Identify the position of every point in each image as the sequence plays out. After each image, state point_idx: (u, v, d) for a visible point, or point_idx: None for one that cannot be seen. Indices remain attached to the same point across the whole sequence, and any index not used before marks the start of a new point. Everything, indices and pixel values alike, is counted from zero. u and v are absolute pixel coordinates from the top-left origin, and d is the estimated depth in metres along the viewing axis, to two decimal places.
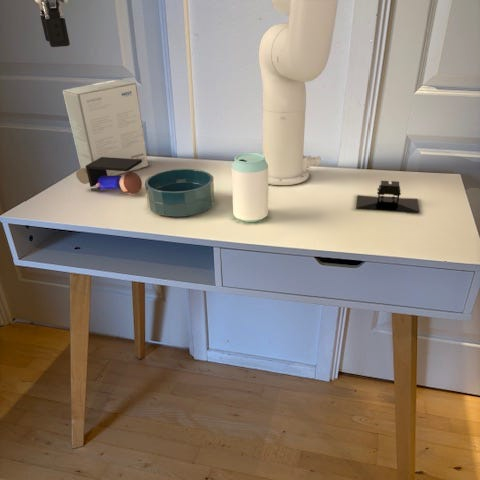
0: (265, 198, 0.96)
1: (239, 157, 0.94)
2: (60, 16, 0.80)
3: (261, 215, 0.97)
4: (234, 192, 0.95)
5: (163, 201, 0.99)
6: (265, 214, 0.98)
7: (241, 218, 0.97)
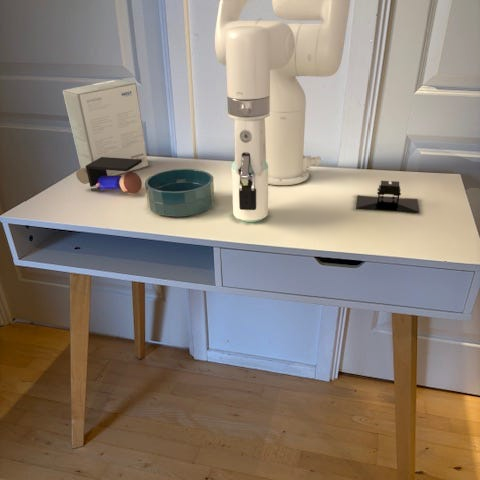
0: (265, 198, 0.96)
1: None
2: (251, 190, 0.92)
3: (261, 215, 0.97)
4: (234, 192, 0.95)
5: (163, 201, 0.99)
6: (265, 214, 0.98)
7: (241, 218, 0.97)
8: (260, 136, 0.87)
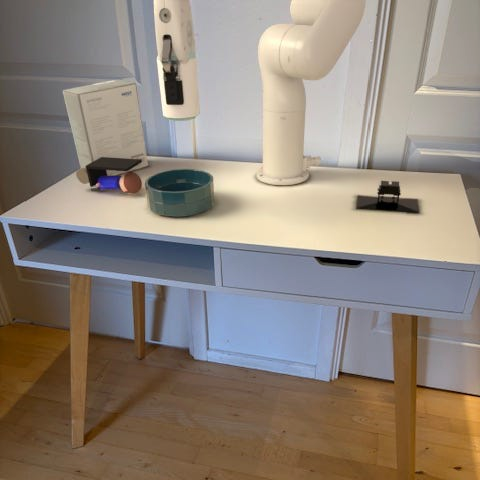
0: (194, 93, 0.91)
1: None
2: (176, 80, 0.86)
3: (191, 113, 0.92)
4: (161, 87, 0.90)
5: (163, 201, 0.99)
6: (195, 113, 0.92)
7: (169, 116, 0.92)
8: (181, 16, 0.81)
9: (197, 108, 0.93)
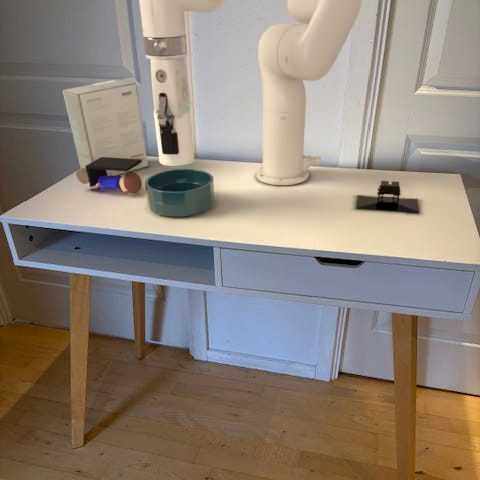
0: (189, 143, 0.97)
1: None
2: (171, 133, 0.92)
3: (185, 161, 0.98)
4: (157, 137, 0.96)
5: (163, 201, 0.99)
6: (190, 160, 0.98)
7: (165, 164, 0.98)
8: (176, 76, 0.87)
9: (191, 156, 0.99)
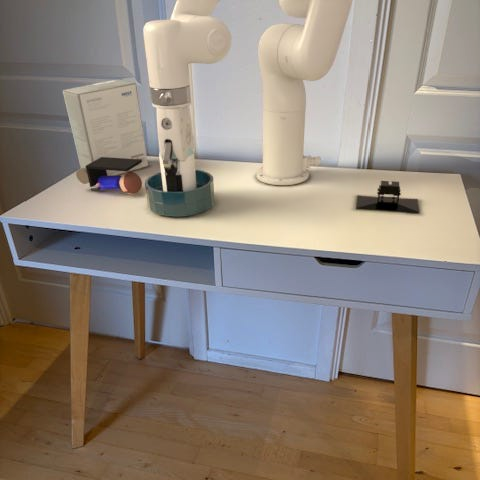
0: (192, 183, 1.01)
1: None
2: (176, 175, 0.97)
3: None
4: (162, 178, 1.01)
5: (163, 201, 0.99)
6: None
7: None
8: (180, 124, 0.92)
9: None
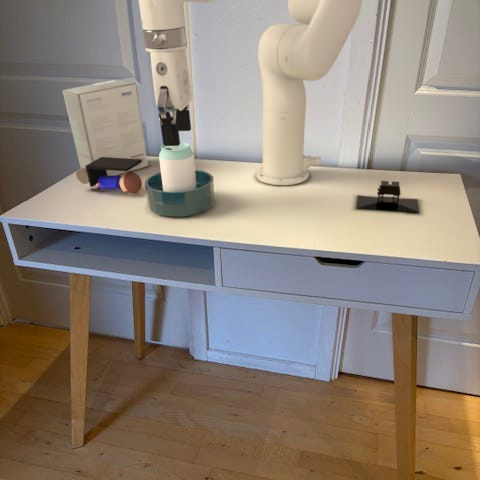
0: (192, 185, 1.02)
1: (166, 146, 1.00)
2: (172, 123, 0.91)
3: None
4: (162, 179, 1.01)
5: (163, 201, 0.99)
6: None
7: None
8: (176, 68, 0.87)
9: None
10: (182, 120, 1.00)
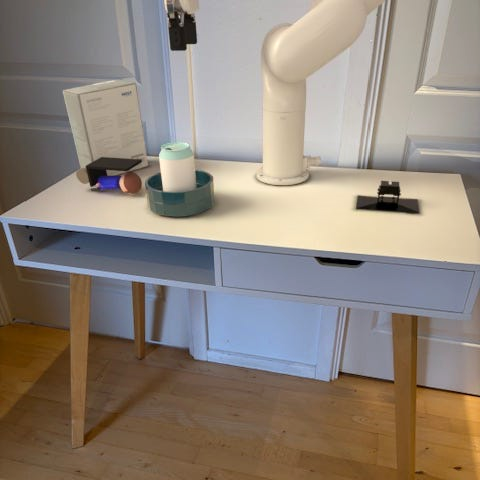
0: (192, 185, 1.02)
1: (166, 146, 1.00)
2: (179, 25, 0.93)
3: None
4: (162, 179, 1.01)
5: (163, 201, 0.99)
6: None
7: None
8: None
9: None
10: (189, 32, 1.03)
